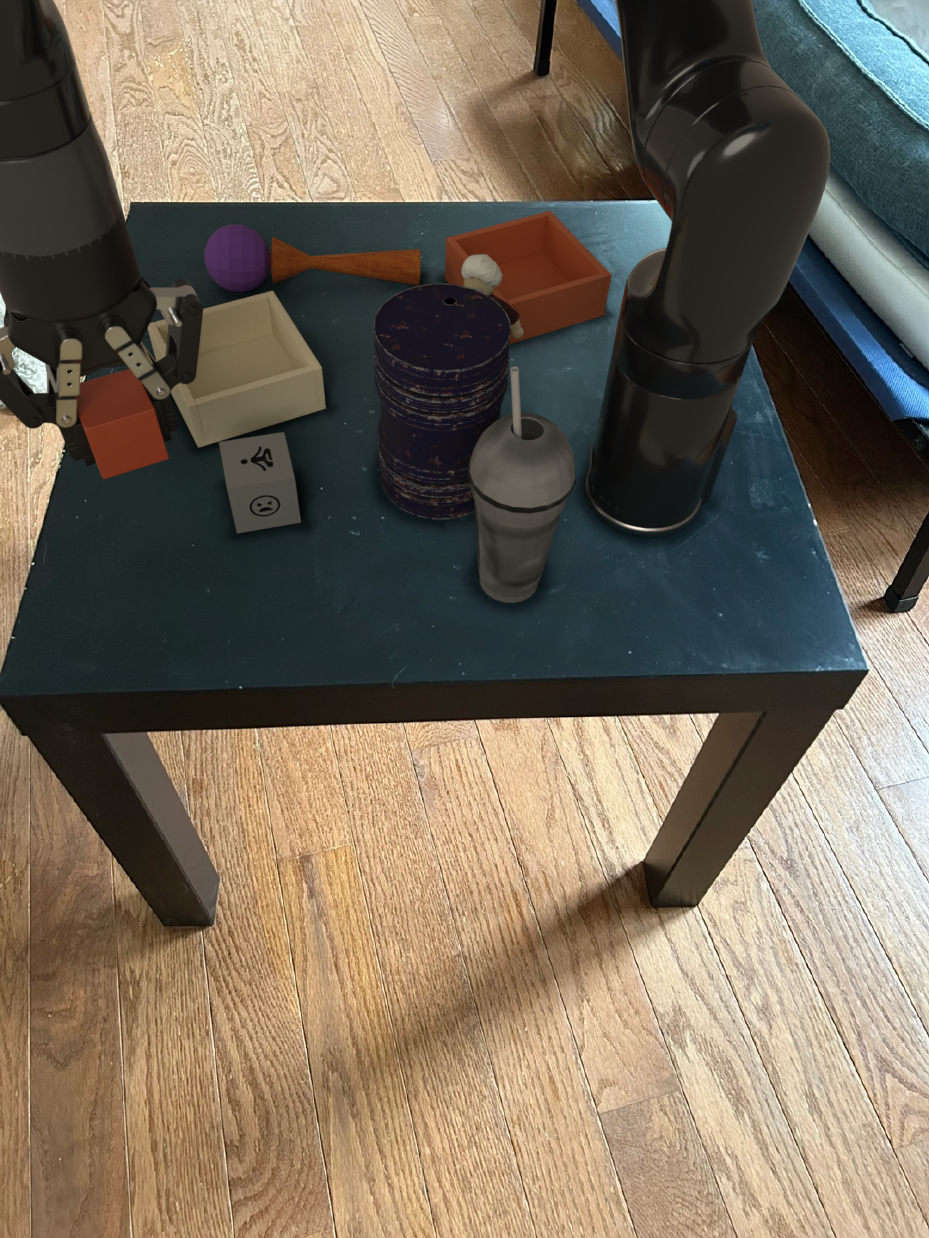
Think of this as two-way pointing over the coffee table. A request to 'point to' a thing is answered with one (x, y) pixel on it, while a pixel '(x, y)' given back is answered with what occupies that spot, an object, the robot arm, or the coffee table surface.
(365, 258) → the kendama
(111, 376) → the rust block
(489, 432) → the beverage cup
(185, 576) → the coffee table surface
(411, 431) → the navy cylindrical canister
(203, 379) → the cream bin
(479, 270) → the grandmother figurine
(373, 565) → the coffee table surface
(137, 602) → the coffee table surface
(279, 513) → the dice cube
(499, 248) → the terracotta bin
